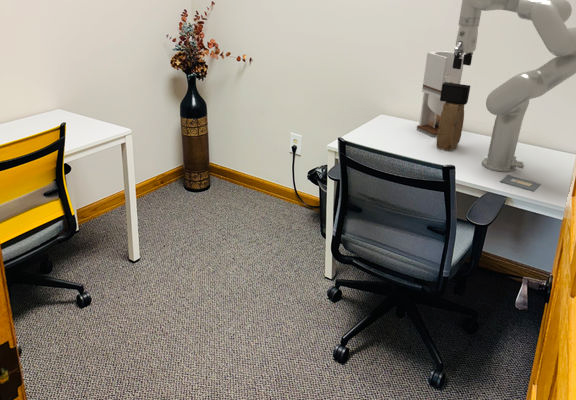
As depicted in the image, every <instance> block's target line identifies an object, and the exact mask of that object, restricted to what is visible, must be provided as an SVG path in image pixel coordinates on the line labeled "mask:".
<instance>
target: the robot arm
mask: <svg viewBox="0 0 576 400" xmlns="http://www.w3.org/2000/svg"><path fill="white" fill-rule="evenodd" d="M497 10H498V11H501V10H502V11H507V12H512V13H516V14H517V16H518V17H519V18H520V19H521V20H527V21H531V22H532V24H533V27H534V29H535V31H536V32H537V34H538V36H539V37H540V39H541V41H542V42H543V44H544V46H545V48H546V49H547V50H548V52H549V53H551V54H552V55H553V56H555V57H553V58H552V59H550V60H549V61H547V62H545V63H543V65H541V66H540V67H538V68H536V69H533V70H527V71H525V72H521V73H518V74H516V75H514V76H512V77H510V78H509V79H508V80H506V81H505V82H503V83H502V84H501V85H499V86H497V87H496V88H494V89H493V90H492V91H490V92H489V94H488V96H487V97H486V100H485V101H486V102H485V107H486V110H487V111H488V112H489V113H490V114H492V115H494V116H496V117H495V119H494V123H493V129H492V132H491V139H490V143H489V147H488V153H487V157H486V158H483V159H482V162H481V165H482V166H483V167H484V168H486V169H489V170H491V171H494V172H501V173H509V172H514V171H515V170H516V169H517V168H518V169H521V170H523V169H524V167H525V164H524V162H523V161H519V160H517V156H515V154H516V150H517V146H518V142H519V137H520V133H521V129H522V125H523V120H524V118H525V115H526V112H527V109H528V107H529V105H530V100H531V99H532V100H533V99H535V98H539V97H542V96H543V95H545V94H547V93H548V92H549V91H552V89H554V88H555V87H557V86H558V85H560V84H562V83H564V82H565V81H567V80H568V79H570V78H571V77H573V76H574V75H575V74H576V27H569V28H568V27H567V25H566V24H565V23H566V22H567V21H568V20H569V19H570V17H571V15H572V12H573V9H572V5H571V3H570V1H568V0H462V1H461V7H460V13H459V18H458V26H459V27H458V31H457V36H456V40H455V46H454V50H453V51H454V52H453V53H454V61H453V68H454V69H461V64H462V59H461V58H462V56H464V59H463V66H468V67H469V66H471V65H472V60H473V54H474V52H475V51H476V49H477V42H478V35H479V26H480V23H481V22H480V21H481V15H482V11H485V12H487V11H497Z"/></svg>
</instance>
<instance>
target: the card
mask: <svg viewBox="0 0 576 400" xmlns="http://www.w3.org/2000/svg"><path fill="white" fill-rule="evenodd" d="M499 183H501V184H505V185H509V186H512V187H516V188H520V189H523V190H526V191H530V192H535V191H536V190H537V189H538V188H539V187H540V186H541V185H542V183H540V182H536V181H533V180H532V181H531V180H529V179H524V178H520V177H518V176H515V175H511V174H507V175H505V176H504V177H503V178H502V179H501V180H500V181H499Z"/></svg>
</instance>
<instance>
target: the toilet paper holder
mask: <svg viewBox="0 0 576 400" xmlns="http://www.w3.org/2000/svg"><path fill="white" fill-rule="evenodd" d="M461 59H462V64H461V69H454V68H453V61H454V52H453V51H449V50H441V51H430V52H427V55H426V60H425V62H426V63H425V67H424V68H425V69H424V74H423V80H422V81H423V83H422V88H421V89H422V90H421V92H422V93H423V94H422V95H423V97H422V102H421V111H420V117H419V123H418V125H416V131H418V132H420V133H421V134H422V133H423V134H425V135H427V136H429V137H430V138H437V134H438V128H439V122H440V117H441V112H442V110H443V105H444V103H446V102H445V101H440V97H441V90H442V84H443V83H444V82H448V83H455V84H461V82H462V75H463V70H464V65H463V59H464V55H463V56H462V58H461Z"/></svg>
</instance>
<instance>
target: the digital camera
mask: <svg viewBox="0 0 576 400" xmlns="http://www.w3.org/2000/svg"><path fill="white" fill-rule="evenodd" d="M470 90H471V85H468V84H461V83H460V84H455V83H448V82H444V83H443V84H442V90H441V97H440V101H445V102H451V103H457V104H464V106H466V105H467V104H468V101H469V96H470Z"/></svg>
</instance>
